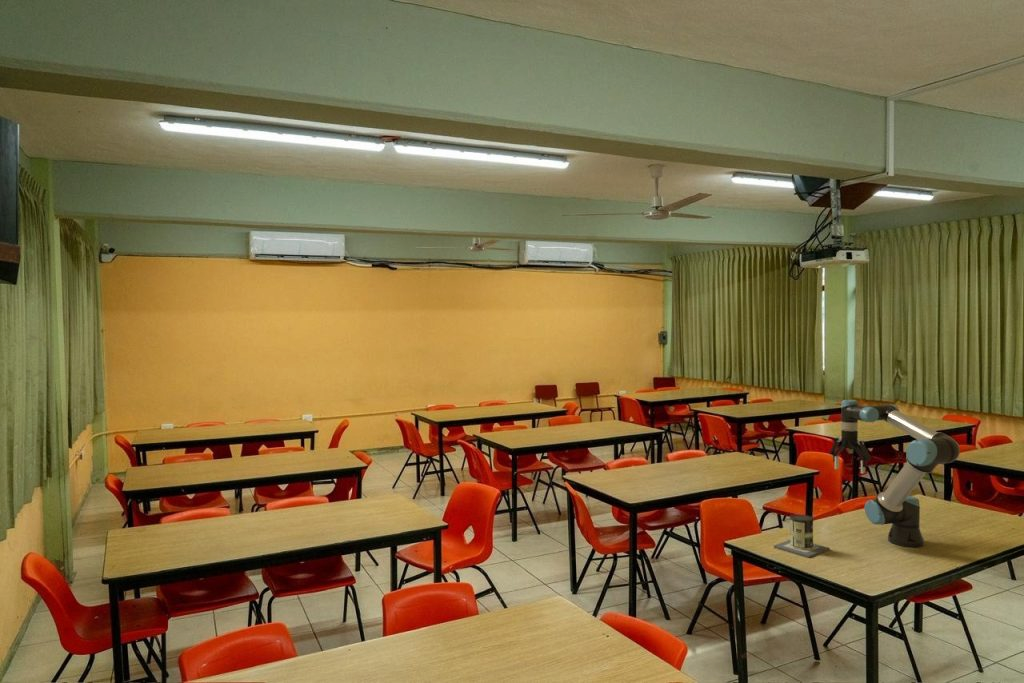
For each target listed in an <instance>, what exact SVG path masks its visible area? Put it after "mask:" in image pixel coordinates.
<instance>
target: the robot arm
mask: <svg viewBox="0 0 1024 683" xmlns="http://www.w3.org/2000/svg"><path fill="white" fill-rule="evenodd" d="M840 409H841V411H840V412H841V413H840V414H841V416H840V418H841V419H840V420H841V421H840V422H841V424H840V425H841V426H840V427H841V432H840V433H841V438H840V436H839V437H835V439H834V443H833V445H832V447H831V448H830V451H829V453H828V454H829V455H831V456H832V462H833V463H834V470H839V468H840V458H839V454H840V453H841V452H842V451H843V450H844V449H845V448H846V449H847V448H848V449H853V450H854V451H855V452H856V454H857V455H858V456H859V458H860V459H861V460H860V474H863V475H864V474H866V467H867V466H868V464H867V463H868V461H869V460H871V459H872V458H871V456H870V454H869V451H868V450H867V447H866V445H865V441H864V440H858V439H859V432H858V427H859V426H858V423H859V422H858V421H861V422H865V423H875V422H877V421H884V422H886V423H888V424H890V425H891V426H893V427H895V428H896V429H898V430H900V431H902V432H903V433H906V434H907V435H909V436H911V437H912V438H914V439H915V440H912V441H910V442H909V443H908V445H907V446H906V449H905V451H906V453H905V454H906V463H905V464H904V465H903V467H902V468H901V469H900V471H899V472H898V473H897V474H896V476H895V478H894V479H893V480H892V481H891V482H890V484H889V486H888V487H887V488H886V490H885V491H881V492H880V493H878V494H877V496H876V497H875V498H874V499H869V500H867V501H866V502H865V504H864V511H865V512H864V513H865V515H866V516H865V517H866V518H867V520H868V521H869V522H870V523H871V524H873V525H877V526H878V525H881V526H883V525H888V524H889V525H890V524H891V527H890V528H889V531H888V534H887V541H888V542H889V543H891V544H894V545H897V546H901V547H907V548H919V547H923V546H924V543H925V542H924V540H925V539H924V537H923V535H922V532H921V529H920V515H921V514H920V512H921V510H920V508H921V506H920V500H919V498H918V497H915V496H911V495H910V494H911V493H912V492H913V490H914V489H915V488H916V487H917V485H918V484H919V483H920V481H922V479H923V478H924V477H925V475H926V474H930V473H931V474H932V473H933V471H934V470H935V469H936V468H937V466H938V465H944V464H950V463H953V462H955V461H956V460H957V459H958V458H959V456H960V453H961V449H960V445H959V444H958V442H957V441H956V440H955V439H954V437H953V438H952V437H951V436H949V435H948V434H947V433H944V432H942V431H941V432H937V431H935V430H934V429H932V428H930V427H928V426H926V425H925V424H923V423H921V422H919V421H917V420H915V419H914V418H912V417H910V416H909V415H906V414H905V413H903V412H901V411H900V409H899V408H898V406H896V405H895V404H878V405H859V403H858V400H855V399H843V400H842V401H841V407H840ZM840 443H841V445H840ZM839 445H840V446H839ZM838 446H839V447H838Z"/></svg>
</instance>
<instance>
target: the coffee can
mask: <svg viewBox="0 0 1024 683" xmlns="http://www.w3.org/2000/svg"><path fill="white" fill-rule="evenodd" d="M789 521H790V523H789V526H790V527H789V528H790V533H789V534H790V540H791V544H790V545H791V546H792V547H793V548H796V549H801V550H810V549H813V543H814V518H813V516H811V515H807V514H806V515H805V514H791V515H790V516H789Z"/></svg>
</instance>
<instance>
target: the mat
mask: <svg viewBox="0 0 1024 683" xmlns="http://www.w3.org/2000/svg"><path fill="white" fill-rule="evenodd" d="M790 544H791V539H789V540H786V541H783V542H780V543H777V544H775V545H773V548H774V549H776V548H777V549H776V550H780V551H782V552H786V551H787V553H790V554H793V553H794V554H793V555H797V556H801V557H804V558H807V559H810V558H812V557H815V556H818V555H820V554H823V553H825V552H827V551H829V550H831V549H830V547H828V546H824V545H821V544H817V543H814V542H813V549H810V550H801V549H796V548H793V547H792V546H791V545H790Z"/></svg>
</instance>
